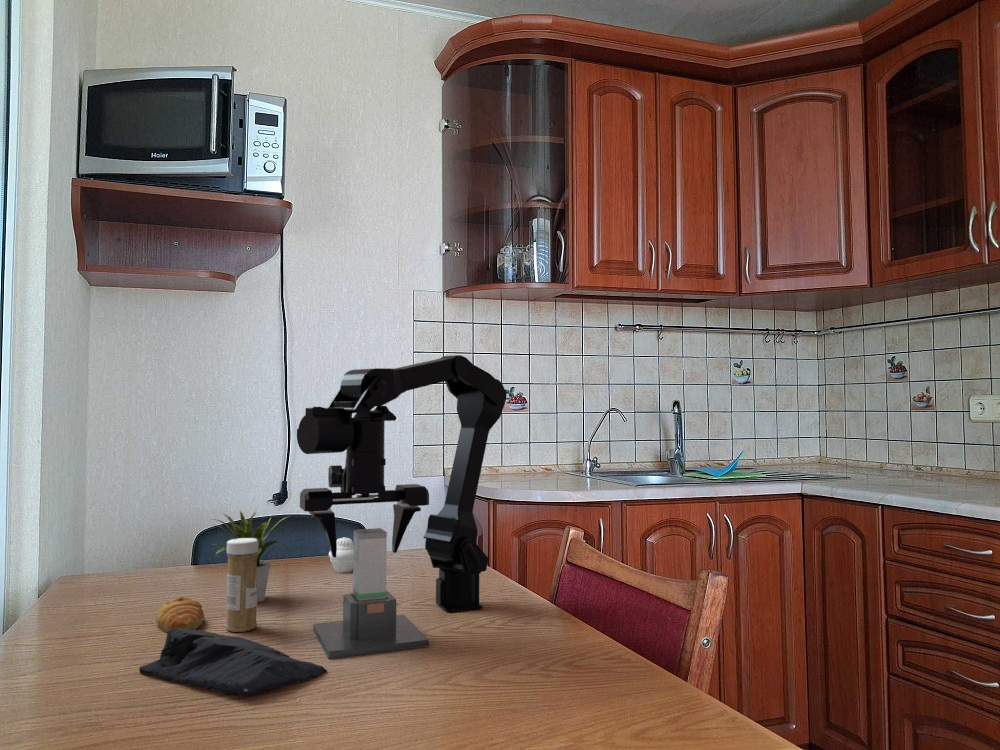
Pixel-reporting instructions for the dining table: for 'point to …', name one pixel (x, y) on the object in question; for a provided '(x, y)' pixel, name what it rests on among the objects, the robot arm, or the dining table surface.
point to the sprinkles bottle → (242, 584)
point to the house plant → (262, 565)
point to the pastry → (180, 615)
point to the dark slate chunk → (227, 663)
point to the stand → (368, 629)
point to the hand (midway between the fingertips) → (364, 554)
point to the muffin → (343, 555)
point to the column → (369, 564)
